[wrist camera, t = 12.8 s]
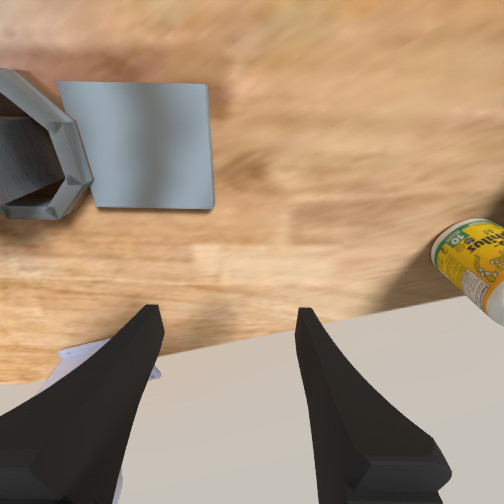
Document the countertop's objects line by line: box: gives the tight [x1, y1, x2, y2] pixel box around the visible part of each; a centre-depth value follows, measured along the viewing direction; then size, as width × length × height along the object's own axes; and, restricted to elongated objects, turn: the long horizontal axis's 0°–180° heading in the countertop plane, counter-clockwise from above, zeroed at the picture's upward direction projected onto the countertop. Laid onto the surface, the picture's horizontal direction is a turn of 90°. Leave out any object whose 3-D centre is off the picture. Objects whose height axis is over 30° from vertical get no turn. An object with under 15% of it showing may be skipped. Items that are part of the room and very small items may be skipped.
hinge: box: [0, 68, 215, 220], centre depth 17 cm, size 26×9×2 cm, turn 89°
